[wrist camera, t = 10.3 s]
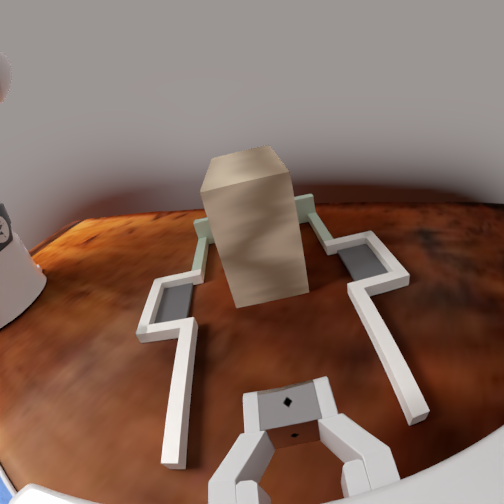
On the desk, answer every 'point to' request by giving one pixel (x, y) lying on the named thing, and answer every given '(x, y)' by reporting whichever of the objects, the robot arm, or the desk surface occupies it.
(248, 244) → the maple block
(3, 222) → the robot arm
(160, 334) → the box
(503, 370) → the desk surface
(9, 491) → the tablet computer
